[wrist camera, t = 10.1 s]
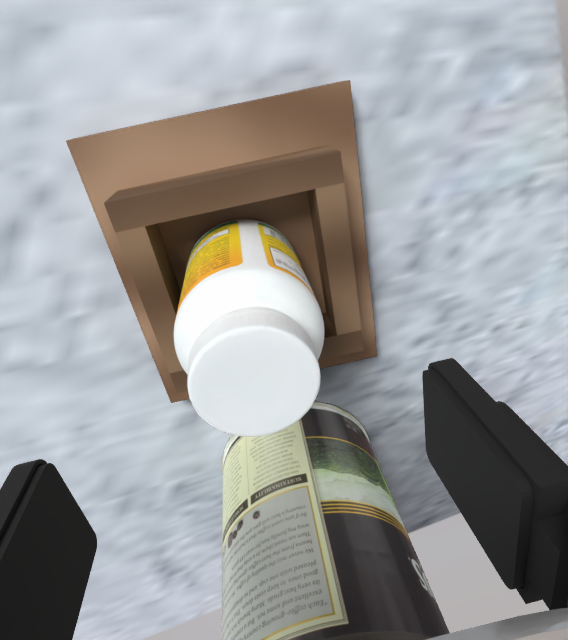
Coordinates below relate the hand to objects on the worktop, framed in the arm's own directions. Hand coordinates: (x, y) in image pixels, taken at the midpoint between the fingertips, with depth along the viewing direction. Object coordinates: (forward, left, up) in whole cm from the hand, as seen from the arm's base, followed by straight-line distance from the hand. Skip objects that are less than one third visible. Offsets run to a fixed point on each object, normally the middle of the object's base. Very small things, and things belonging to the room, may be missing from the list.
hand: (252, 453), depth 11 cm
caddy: (0, -1, -13) cm, 13 cm away
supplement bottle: (0, 0, -12) cm, 12 cm away
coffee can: (-14, -1, -13) cm, 20 cm away
